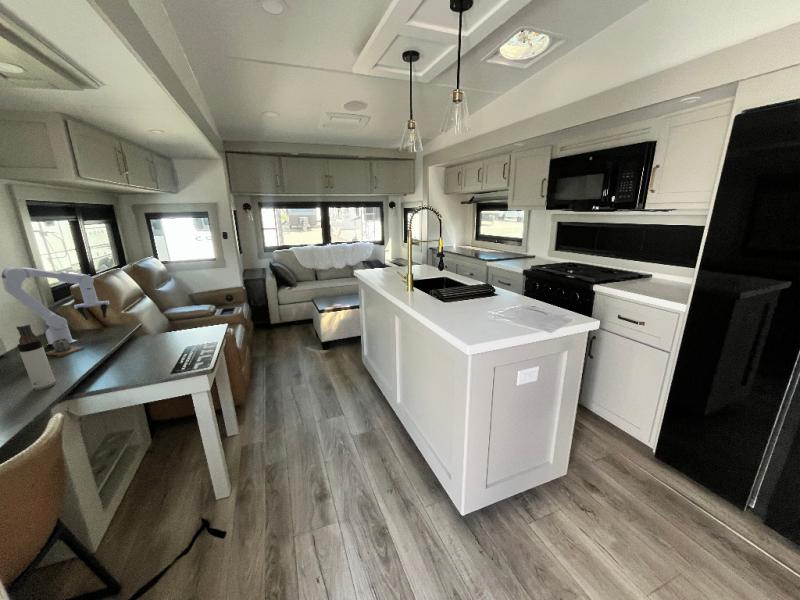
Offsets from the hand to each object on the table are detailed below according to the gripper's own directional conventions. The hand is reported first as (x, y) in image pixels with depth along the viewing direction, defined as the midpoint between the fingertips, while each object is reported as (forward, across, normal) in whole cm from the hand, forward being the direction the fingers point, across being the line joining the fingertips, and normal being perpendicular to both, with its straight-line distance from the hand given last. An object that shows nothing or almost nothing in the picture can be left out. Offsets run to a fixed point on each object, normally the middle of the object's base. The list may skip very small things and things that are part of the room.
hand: (96, 318), depth 184 cm
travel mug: (+10, -3, -64) cm, 65 cm away
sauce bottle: (+10, -14, -36) cm, 40 cm away
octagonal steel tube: (+8, -9, -22) cm, 26 cm away
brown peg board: (+9, -9, -22) cm, 26 cm away
